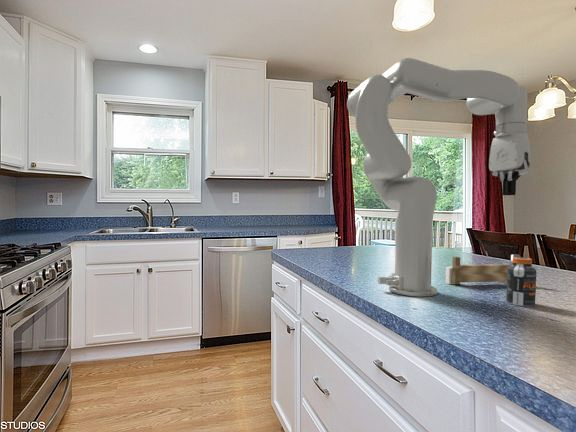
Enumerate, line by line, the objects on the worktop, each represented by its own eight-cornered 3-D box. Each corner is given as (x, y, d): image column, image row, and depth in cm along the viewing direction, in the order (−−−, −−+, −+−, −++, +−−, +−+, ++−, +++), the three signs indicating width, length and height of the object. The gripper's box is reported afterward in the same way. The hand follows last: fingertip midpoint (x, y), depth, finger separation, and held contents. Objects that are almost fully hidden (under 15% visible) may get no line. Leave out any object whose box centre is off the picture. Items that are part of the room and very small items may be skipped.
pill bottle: (526, 308, 82) (527, 260, 82) (500, 302, 87) (502, 256, 87) (540, 305, 85) (542, 258, 84) (515, 299, 90) (516, 255, 90)
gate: (506, 282, 108) (507, 256, 108) (510, 283, 106) (511, 256, 106) (452, 283, 106) (452, 256, 106) (455, 284, 104) (455, 257, 104)
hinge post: (513, 286, 105) (514, 256, 104) (501, 282, 110) (501, 253, 109) (528, 285, 105) (529, 256, 105) (515, 282, 110) (516, 253, 110)
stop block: (449, 284, 106) (449, 267, 106) (445, 282, 108) (445, 266, 108) (458, 284, 107) (458, 267, 107) (454, 282, 109) (454, 266, 109)
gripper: (479, 135, 107) (477, 195, 108) (525, 125, 93) (523, 194, 94) (498, 137, 110) (496, 196, 110) (545, 127, 95) (543, 194, 96)
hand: (508, 195), depth 102 cm, fingers closed
